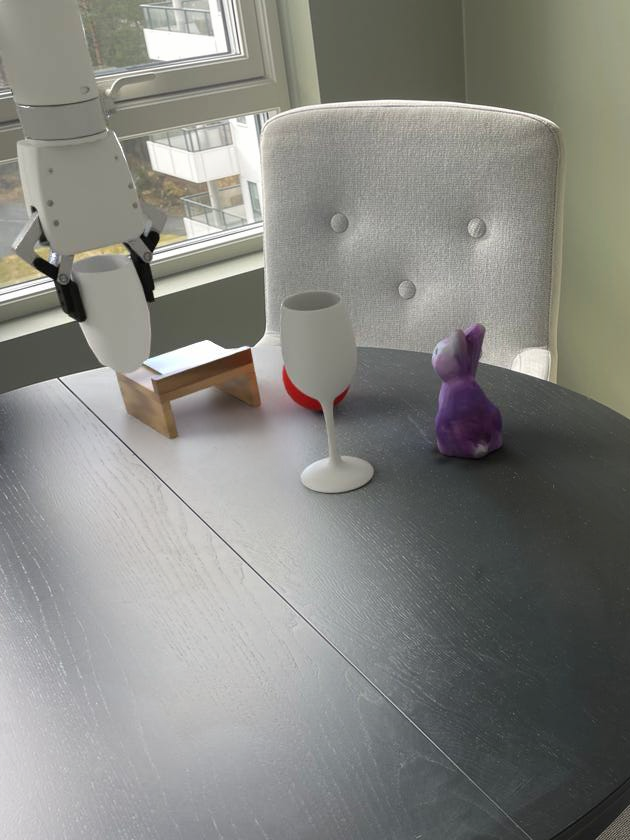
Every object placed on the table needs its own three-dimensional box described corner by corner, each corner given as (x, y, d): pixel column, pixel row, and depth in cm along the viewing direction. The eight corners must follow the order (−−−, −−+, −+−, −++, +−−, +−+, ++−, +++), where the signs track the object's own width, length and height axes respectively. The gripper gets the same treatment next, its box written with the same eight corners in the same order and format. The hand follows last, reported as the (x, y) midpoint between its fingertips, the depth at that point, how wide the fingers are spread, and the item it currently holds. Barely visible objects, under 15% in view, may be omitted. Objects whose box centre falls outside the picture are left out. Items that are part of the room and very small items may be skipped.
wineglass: (383, 461, 118) (363, 288, 105) (360, 496, 112) (336, 316, 99) (316, 455, 120) (289, 285, 107) (290, 490, 113) (257, 313, 100)
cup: (192, 445, 112) (150, 262, 99) (135, 468, 108) (84, 280, 95) (159, 426, 116) (114, 247, 103) (103, 447, 112) (50, 264, 99)
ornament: (305, 428, 126) (293, 354, 120) (277, 404, 132) (264, 333, 126) (366, 410, 130) (357, 337, 124) (336, 387, 136) (326, 317, 130)
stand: (126, 412, 132) (110, 355, 127) (215, 380, 140) (203, 325, 135) (170, 439, 125) (155, 380, 120) (261, 404, 133) (250, 347, 128)
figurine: (444, 421, 126) (437, 306, 117) (516, 433, 123) (514, 316, 114) (410, 452, 120) (399, 334, 111) (485, 467, 116) (480, 345, 107)
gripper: (129, 102, 98) (168, 280, 109) (-46, 130, 88) (16, 322, 100) (166, 111, 93) (203, 296, 104) (-13, 142, 84) (48, 341, 95)
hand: (111, 307), depth 102 cm, fingers closed on cup, 7 cm apart
